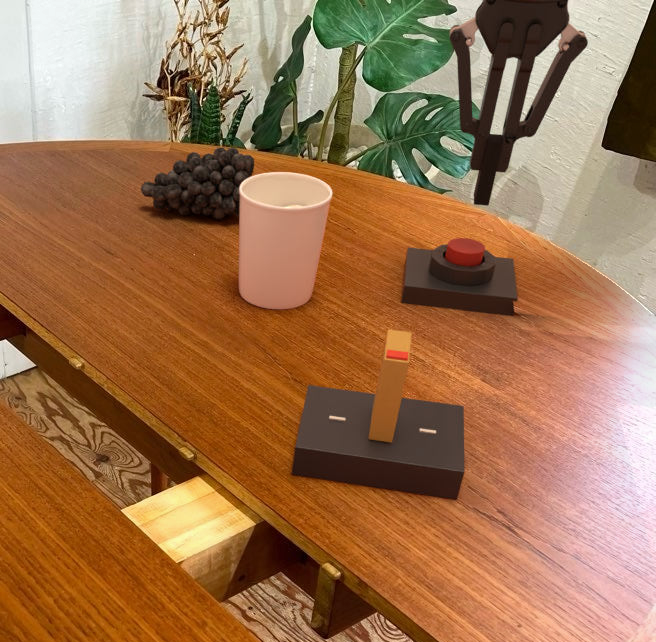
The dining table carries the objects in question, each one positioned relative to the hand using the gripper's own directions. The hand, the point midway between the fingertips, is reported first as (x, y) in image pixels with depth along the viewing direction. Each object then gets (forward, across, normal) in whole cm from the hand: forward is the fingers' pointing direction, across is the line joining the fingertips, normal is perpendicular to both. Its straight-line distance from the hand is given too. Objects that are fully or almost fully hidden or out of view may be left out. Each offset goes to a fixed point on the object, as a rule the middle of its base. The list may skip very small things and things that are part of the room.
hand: (480, 200), depth 103 cm
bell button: (+7, 0, 0) cm, 7 cm away
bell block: (+11, 0, 0) cm, 11 cm away
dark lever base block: (+11, -8, -34) cm, 36 cm away
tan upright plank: (+8, -7, -34) cm, 35 cm away
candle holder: (+11, -20, -6) cm, 24 cm away
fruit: (+10, -34, +14) cm, 38 cm away
